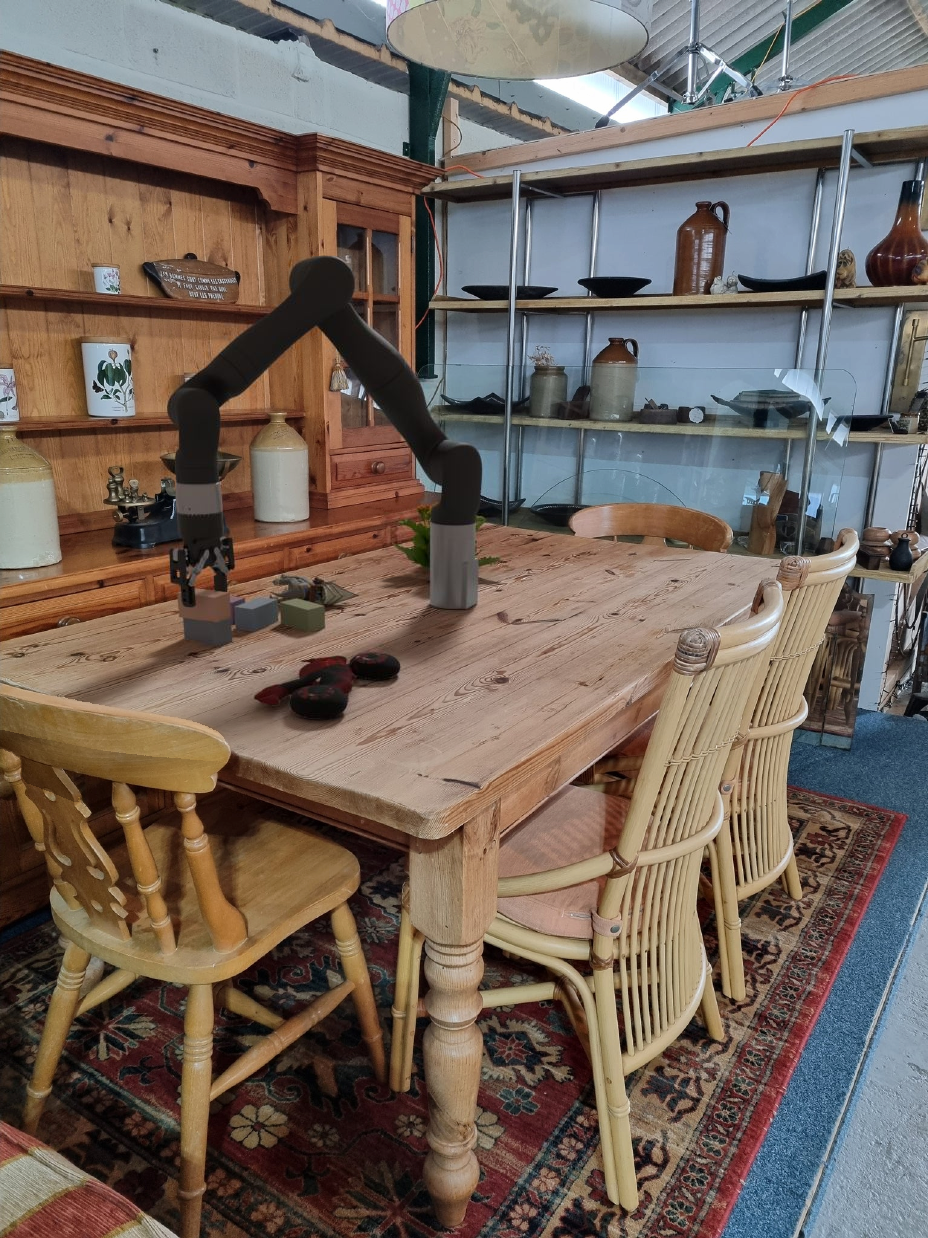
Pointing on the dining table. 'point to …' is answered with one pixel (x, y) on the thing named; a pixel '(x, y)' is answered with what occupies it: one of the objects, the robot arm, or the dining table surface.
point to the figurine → (311, 590)
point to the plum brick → (234, 602)
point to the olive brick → (302, 615)
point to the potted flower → (422, 539)
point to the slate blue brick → (256, 614)
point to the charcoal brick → (208, 631)
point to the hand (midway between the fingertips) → (205, 601)
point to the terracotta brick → (207, 606)
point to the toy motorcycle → (328, 683)
